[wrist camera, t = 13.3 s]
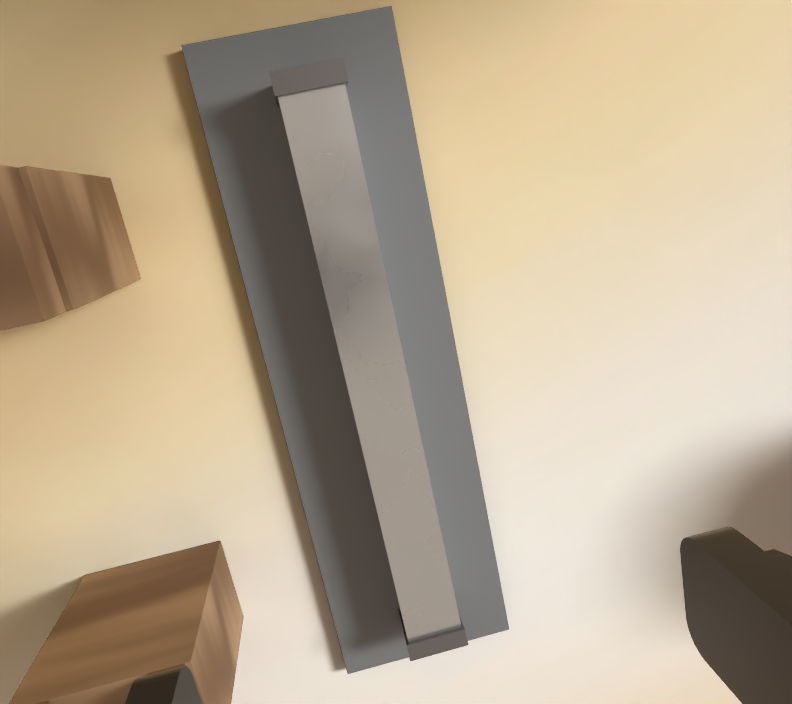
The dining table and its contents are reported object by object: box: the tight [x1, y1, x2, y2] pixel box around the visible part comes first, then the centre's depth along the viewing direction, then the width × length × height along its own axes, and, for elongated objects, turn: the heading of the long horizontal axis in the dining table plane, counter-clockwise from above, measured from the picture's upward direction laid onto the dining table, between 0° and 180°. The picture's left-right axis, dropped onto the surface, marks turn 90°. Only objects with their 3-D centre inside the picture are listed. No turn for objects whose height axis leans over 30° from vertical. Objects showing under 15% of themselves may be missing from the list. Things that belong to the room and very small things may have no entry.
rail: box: [269, 57, 468, 661], centre depth 27 cm, size 24×3×3 cm, turn 12°
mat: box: [182, 6, 509, 674], centre depth 28 cm, size 28×8×1 cm, turn 12°
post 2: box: [9, 541, 243, 704], centre depth 25 cm, size 4×6×10 cm, turn 102°
